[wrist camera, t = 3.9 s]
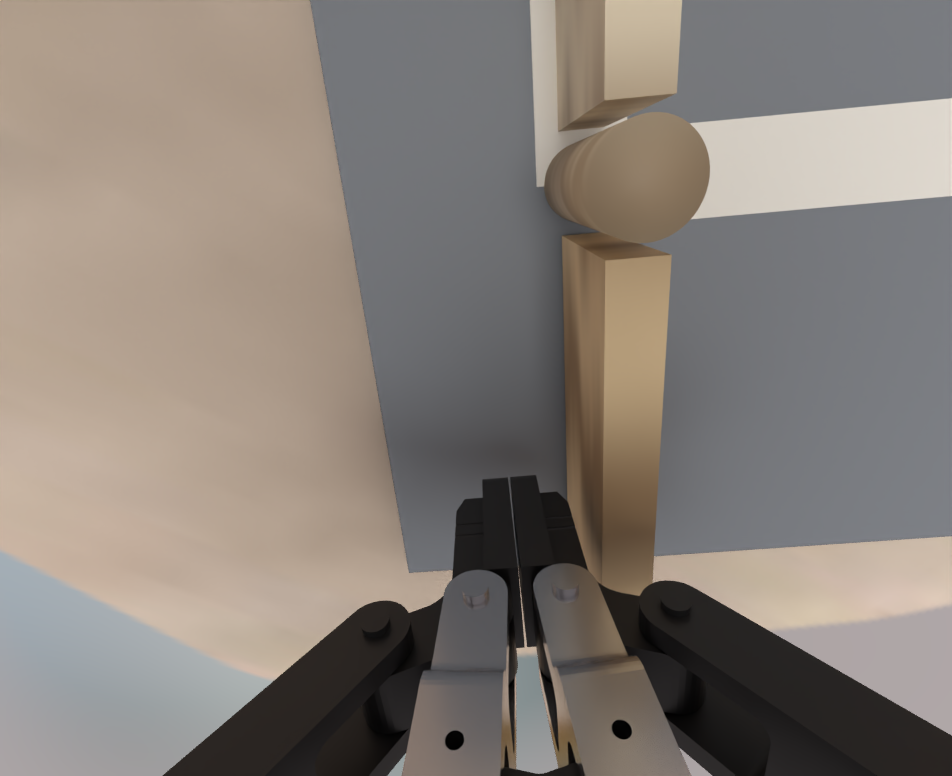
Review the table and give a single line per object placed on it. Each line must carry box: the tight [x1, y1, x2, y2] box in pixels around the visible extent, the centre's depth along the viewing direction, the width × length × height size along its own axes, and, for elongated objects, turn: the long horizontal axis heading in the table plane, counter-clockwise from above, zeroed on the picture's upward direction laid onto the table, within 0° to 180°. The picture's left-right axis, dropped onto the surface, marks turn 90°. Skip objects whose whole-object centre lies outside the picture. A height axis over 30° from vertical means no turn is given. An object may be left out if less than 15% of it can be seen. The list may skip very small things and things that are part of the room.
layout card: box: [310, 0, 952, 573], centre depth 14 cm, size 26×21×1 cm
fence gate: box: [562, 232, 672, 596], centre depth 13 cm, size 11×2×5 cm, turn 5°
